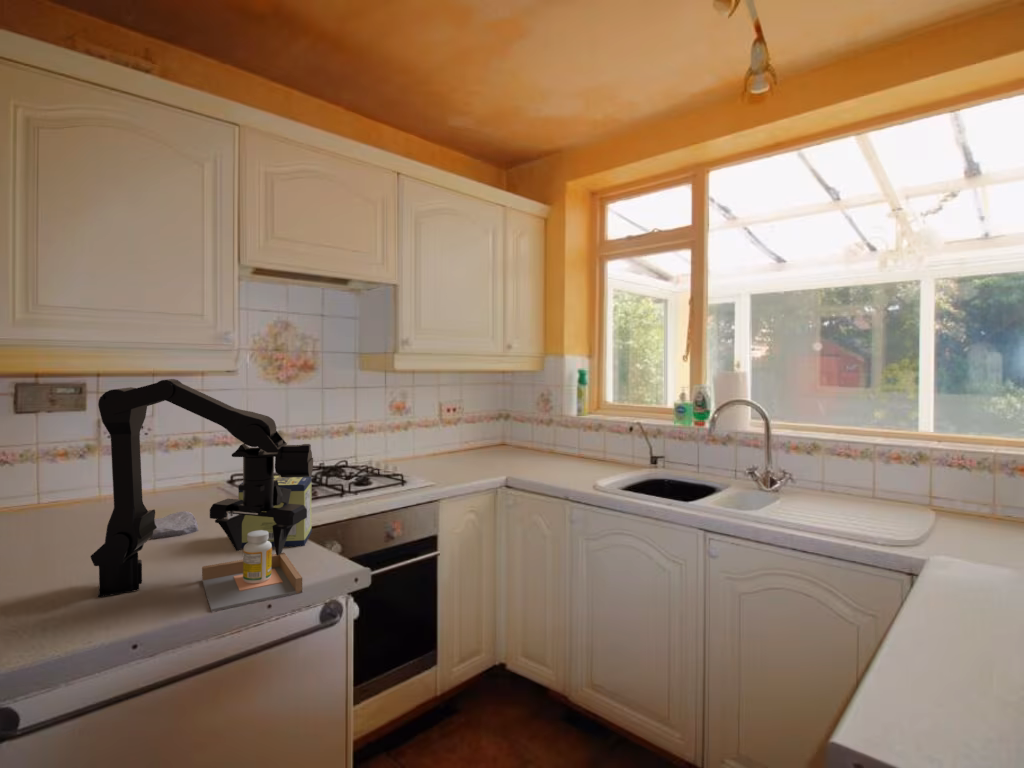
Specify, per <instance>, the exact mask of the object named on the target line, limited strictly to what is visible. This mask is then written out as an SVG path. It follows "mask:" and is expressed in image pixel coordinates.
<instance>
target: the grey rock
mask: <svg viewBox="0 0 1024 768" xmlns="http://www.w3.org/2000/svg"><path fill="white" fill-rule="evenodd" d="M154 521H155V525H156V527H157V528H156V529H155V530H153V535H152V537H151V538H150V539H149V540H152V539H160V538H169V537H177V536H178V537H179V536H185V535H188V534H193V533H196V532H198V531H199V525H198V521H197V519H196V517H195V515H194V514H193V513H192V512H190V511H187V510H186V511H185V510H183V511H177V512H175V513H170V514H168V515H166V516H164V517H161V518H155V520H154Z"/></svg>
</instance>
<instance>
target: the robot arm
mask: <svg viewBox="0 0 1024 768" xmlns="http://www.w3.org/2000/svg"><path fill="white" fill-rule="evenodd" d="M165 401H166V402H169V403H170V404H172V405H175V406H177V407H179V408H182V409H183V410H186V411H188V412H191V413H193V414H194V415H197V416H199V417H201V418H203V419H206V420H208V421H210V422H212V423H214V424H217V425H218V426H221V427H222V428H224V429H225V430H226V431H228V433H230V435H232V437H234V438H235V439H237V440H238V441H240V442H241V444H240V445H239V446H238V448H237V449H236V450H235V451H233V453H231V457H232V458H242V472H243V473H242V482H243V484H241V483H240V484H238V485H239V490H243V500H240V499H239V498H225V499H223V500H220V501H217V502H215V503H213V504H212V505H211V506H210V508H209V519H210V520H211V519H215V520H214V522H215V523H216V524H218V525H219V526H220V527H221V529H222V531H223V532H224V533H225V534H226V537H227V538H228V540H229V541H230V544H232V546H233V548H234V550H235V552H240V551H241V550H242V548H241V546H242V522H243V519H244V517H245V515H252V516H263V517H273V520H274V522H275V523H276V524H275V525H273V526H272V527H273V536H274V545H275V547H274V551H275V554H276V555H280V554H281V553H283V549H284V548H285V547H284V545H285V542H286V539H287V537H288V534H289V532H290V530H291V528H292V527H293V526H294V525H295V524H297V523H299V522H300V521H302V520H303V519H305V518H307V509H306V507H305V506H304V505H299V504H289V499H290V494H291V489H286V488H281V487H279V486H278V480H274V476H275V473H276V474H277V476H281V477H311V478H312V474H313V468H314V457H313V454H312V453H313V452H312V449H311V448H312V447H311V443H304V444H288V443H287V442H286V440H285V439H284V438H283V437H282V436H281V435H280V434H281V433H279V432H278V430H277V425H276V422H275V420H274V419H273V418H271V417H270V416H268V415H266V414H261V413H258V412H254V411H251V410H244V409H240V408H236V407H233V406H231V405H229V404H227V403H225V402H223V401H221V400H219V399H216V398H214V397H213V396H211V395H207V394H206V393H204V392H202V391H199V390H196V389H195V388H193V387H190V386H189V385H186V384H184V383H182V382H181V381H180V380H178V379H175V378H167V379H161V380H159V381H157V382H155V383H151V384H147V385H144V386H140V387H131V386H129V387H123V388H121V387H120V388H115V389H109V390H107V391H105V392H104V393H103V394H102V395H101V396H99V399H98V404H97V406H98V409H99V415H100V419H101V422H102V424H103V426H104V427H105V429H106V431H107V433H108V434H109V436H110V449H111V450H110V452H111V473H112V474H111V475H112V491H113V492H112V494H113V496H112V497H113V510H112V512H111V515H110V518H109V521H108V523H107V525H106V533H105V539H104V543H103V544H102V545H101V546H100V547H99V548H98V549H97V550H96V551H95V552H93V553H92V554H91V555H90V559H91V561H92V564H93V566H94V567H98V593H97V597H98V598H102V597H108V596H113V595H119V594H124V593H130V592H136V591H139V590H140V585H141V584H142V583H143V560H142V559H139V552H140V551H141V550H143V547H144V546H145V545H144V544H146V543H147V542H148V541H149V540H151V539H150V538H151V537H152V535H153V530H155V529H156V528H157V527H156V525H155V521H154V520H155V519H156V518H155V517H156V510H155V509H150V510H149V509H147V507H146V506H145V505H144V502H143V482H142V462H141V461H142V459H141V457H142V456H141V437H140V433H141V430H142V427H143V424H144V422H145V420H146V416H147V409H148V407H149V406H151V405H156V404H160V403H162V402H165ZM274 471H275V472H274ZM281 503H284V504H287V505H285V506H283V507H280V508H274V506H275V505H276V506H277V505H280V504H281ZM262 511H263V512H262ZM265 511H266V512H265Z"/></svg>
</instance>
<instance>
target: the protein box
mask: <svg viewBox="0 0 1024 768" xmlns="http://www.w3.org/2000/svg"><path fill="white" fill-rule="evenodd" d="M274 480H278V486H279V487H281V488H286V489H291V494H290V499H289V504H299V505H304V506H305V507H306V509H307V518H305V519H303V520H302V521H300V522H299V523H297V524H295V525H294V526H293V527H292V528H291V530H290V532H289V534H288V537H287V539H286V542H285V545H284V547H283V548H287V547H289V548H290V547H304V546H306V544H307V543H308V540H309V538H310V536H311V535H312V533H313V529H312V526H313V525H312V476H311V477H281V475H274ZM240 484H243V481H242V482H241V483H240ZM240 484H238V486H237V487H238V499H240V500H243V490H239V485H240ZM285 505H287V504H284V503H281V504H280V505H277V506H276V505H275V506H274V508H280V507H283V506H285ZM262 512H263V511H262ZM265 512H266V511H265ZM275 524H276V523H275V522H274V520H273V517H263V516H252V515H245V517H244V519H243V522H242V546H241V549H243V548H244V546H245V544H247V543H248V541H247V534H248V533H249V532H252V531H257V530H264V531H268V533H269V538H268V540H267V541H269V542H270V543H271V544H272V548H275V545H274V536H273V527H272V526H273V525H275Z"/></svg>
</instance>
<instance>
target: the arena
mask: <svg viewBox="0 0 1024 768" xmlns="http://www.w3.org/2000/svg"><path fill="white" fill-rule="evenodd" d="M201 581H202V585H203V588H204V592H205V595H206V599H207V602H208V605H209V608H210V612H211V613H212V612H217V611H221V610H227V609H230V608H231V609H232V608H237V607H240V606H245V605H246V606H247V605H250V604H254V603H258V602H264V601H267V600H274V599H279V598H283V597H286V596H291V595H297V594H301V593H303V576H302V575H301V574H300V573H299V571H298V570H297V568H296V567H295V565H294V564H293V563H292V561H291V560H290V558H289V557H288V555H286V553H285V552H282V553H281V554H280V555H276V553H272V565H271V577H270V579H268V580H267V581H265V582H262V583H256V584H249V583H246V582H244V580H243V559H238V560H231V561H227V562H220V563H214V564H209V565H203V566H201Z"/></svg>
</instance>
